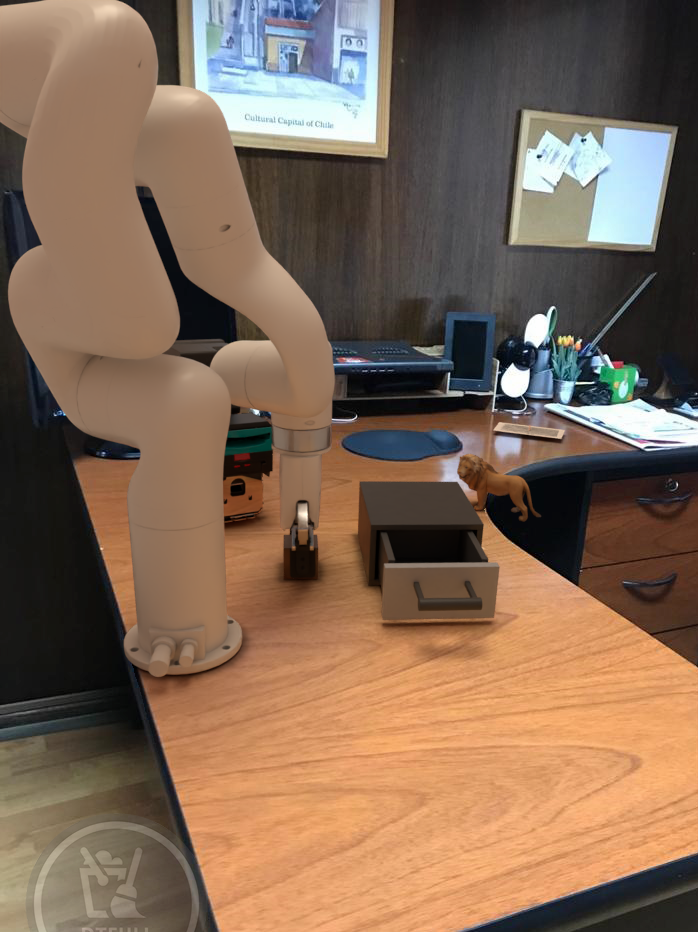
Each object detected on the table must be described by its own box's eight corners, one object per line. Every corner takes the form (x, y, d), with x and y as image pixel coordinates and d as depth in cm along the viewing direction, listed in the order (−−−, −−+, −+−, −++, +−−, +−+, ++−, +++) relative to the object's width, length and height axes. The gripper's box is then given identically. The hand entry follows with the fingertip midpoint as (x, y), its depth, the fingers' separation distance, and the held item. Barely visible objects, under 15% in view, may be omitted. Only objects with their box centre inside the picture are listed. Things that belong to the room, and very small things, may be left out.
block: (318, 579, 102) (318, 548, 100) (283, 579, 101) (283, 548, 99) (316, 564, 106) (317, 534, 104) (283, 564, 105) (283, 534, 104)
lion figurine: (449, 508, 128) (453, 456, 125) (460, 498, 133) (464, 448, 129) (536, 525, 123) (543, 471, 119) (544, 514, 127) (551, 462, 124)
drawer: (506, 643, 87) (513, 589, 84) (388, 646, 85) (391, 590, 83) (466, 562, 106) (470, 516, 104) (369, 563, 105) (371, 517, 102)
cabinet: (478, 584, 102) (483, 524, 99) (368, 585, 100) (370, 524, 97) (453, 534, 118) (457, 481, 114) (357, 535, 116) (359, 481, 113)
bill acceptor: (213, 535, 113) (207, 365, 104) (162, 488, 131) (152, 339, 122) (278, 523, 119) (277, 360, 110) (220, 479, 136) (215, 336, 127)
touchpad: (498, 426, 179) (499, 417, 178) (564, 434, 175) (565, 425, 174) (492, 435, 172) (493, 425, 171) (560, 443, 168) (562, 433, 167)
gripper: (272, 418, 104) (274, 534, 111) (269, 458, 88) (272, 591, 95) (328, 418, 105) (327, 533, 111) (335, 458, 89) (333, 590, 96)
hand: (302, 560), depth 103 cm, fingers open, 9 cm apart
